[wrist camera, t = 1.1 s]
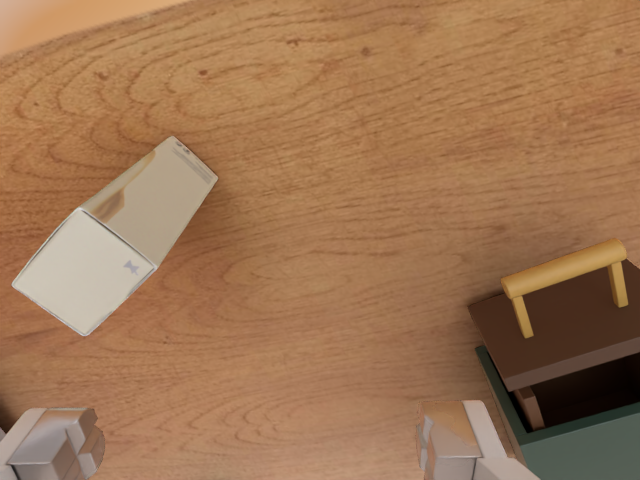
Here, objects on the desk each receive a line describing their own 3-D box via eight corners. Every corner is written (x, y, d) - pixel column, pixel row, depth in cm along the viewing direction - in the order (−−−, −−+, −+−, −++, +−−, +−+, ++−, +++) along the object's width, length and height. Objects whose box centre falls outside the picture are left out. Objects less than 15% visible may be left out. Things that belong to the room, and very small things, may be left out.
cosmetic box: (172, 131, 29) (80, 198, 18) (221, 177, 30) (164, 264, 20) (116, 193, 31) (3, 287, 20) (164, 233, 32) (83, 341, 22)
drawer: (448, 255, 32) (483, 320, 25) (609, 195, 30) (696, 248, 23) (508, 418, 39) (548, 503, 32) (641, 379, 37) (714, 462, 30)
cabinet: (474, 348, 37) (519, 446, 28) (629, 297, 35) (730, 388, 26) (514, 454, 43) (562, 562, 34) (649, 417, 40) (737, 523, 32)
